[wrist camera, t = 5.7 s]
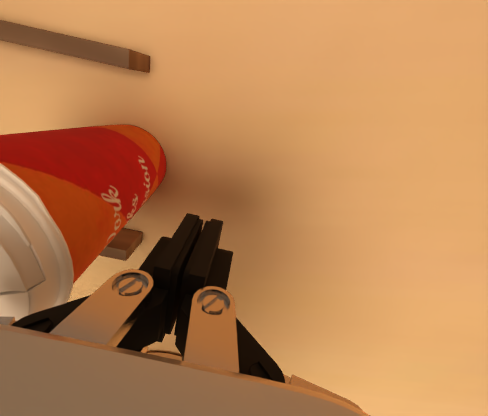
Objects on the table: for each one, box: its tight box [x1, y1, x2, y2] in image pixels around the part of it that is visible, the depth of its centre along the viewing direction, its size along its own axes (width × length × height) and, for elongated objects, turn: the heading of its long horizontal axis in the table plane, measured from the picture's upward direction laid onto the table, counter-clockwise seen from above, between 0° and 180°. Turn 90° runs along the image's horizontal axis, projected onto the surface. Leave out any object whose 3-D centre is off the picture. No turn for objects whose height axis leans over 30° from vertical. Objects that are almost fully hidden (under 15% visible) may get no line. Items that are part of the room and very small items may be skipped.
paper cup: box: [0, 125, 166, 321], centre depth 14 cm, size 8×8×14 cm
